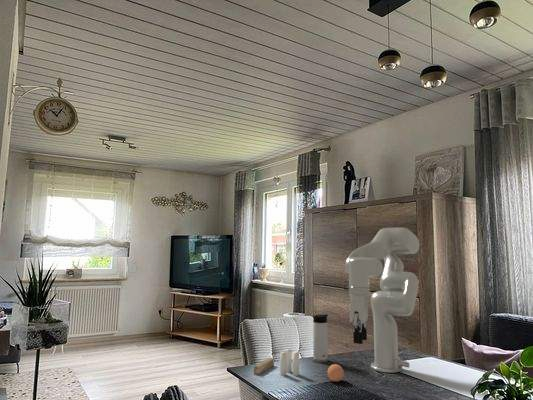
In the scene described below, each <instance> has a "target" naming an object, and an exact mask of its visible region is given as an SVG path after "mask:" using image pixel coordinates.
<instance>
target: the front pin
mask: <svg viewBox="0 0 533 400" xmlns="http://www.w3.org/2000/svg"><path fill="white" fill-rule="evenodd" d="M292 375H293V376H295V377H297V376H300V351H293V352H292Z"/></svg>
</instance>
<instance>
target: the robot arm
mask: <svg viewBox="0 0 533 400" xmlns="http://www.w3.org/2000/svg"><path fill="white" fill-rule="evenodd" d="M419 250H420V241H419V239H418V237H417V235H416V234H414V233H413V232H412V231H411V230H410V229H408V228H407V227H384V228H380V230H378V231H377V233H376V235H375V236H374V238H372V240H371V241H370V242H368V243H367V244H364V245H362V246H360V247H358V248H355V249H354V250H353V251H352V252H350V254H349V256H348V257H347V259H346V260H345V264H344V269H345V272H346V274H347V275H348V293H349V296H350V300H349V323H350V324H352V326H353V329H352V330H353V331H352V333H353V335H352V338H353V344H359V345H362V344H363V342H364V341H367V339H368V338H367V337H368V335H367V333H368V330H367V322H368V320H369V303H368V300H369V299H368V297H370V295H371V289H370V281H371V280H370V278H377V277H379V276H380V275H381V276H380V280H379V287H380V290H378V291H375V292H373V293H372V295H371V297H370V306H371V310H372V319H373V346H374V347H373V348H374V349H373V351H374V353H373V354H374V357H373V358H374V362H371V363H370V368H371V369H372V370H374V371H377V372H381V373H391V374H392V373H400V372H402V371H403V367H404V368H410V366H411V365H410V362H408V361H407V360H402V359H400V358H401V357H400V356H399V348H398V347H399V345H398V343H399V341H398V325H397V321H396V320H395V318H394V317H393V316H401V317H409V316H411V315H412V314H413V313H414V309H415V306H416V301H417V297H418V291H419V280H418V279H419V278H418V277H417V275H416V274H415V273H413V272H410V271H404V268H405V266H404V263H403V262H402V260H401V258H399V257H398V256H397V255H398V254H399V255H401V254H402V255H413V254H417V253H418V252H419ZM381 260H384V261H383V262H384V265H383V263H382V261H381Z"/></svg>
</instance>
